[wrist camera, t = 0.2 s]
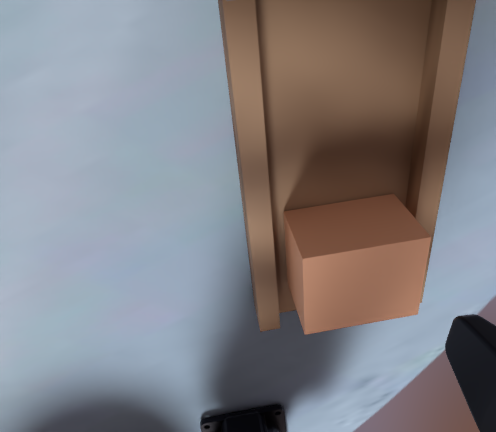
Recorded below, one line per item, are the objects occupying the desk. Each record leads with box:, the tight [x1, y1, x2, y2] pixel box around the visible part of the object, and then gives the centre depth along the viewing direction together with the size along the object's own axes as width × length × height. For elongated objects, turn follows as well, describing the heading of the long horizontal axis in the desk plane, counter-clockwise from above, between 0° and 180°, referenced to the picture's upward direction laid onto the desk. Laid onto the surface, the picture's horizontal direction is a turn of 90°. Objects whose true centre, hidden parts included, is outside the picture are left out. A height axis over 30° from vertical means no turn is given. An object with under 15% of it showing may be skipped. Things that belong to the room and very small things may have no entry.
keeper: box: [283, 194, 431, 335], centre depth 22 cm, size 5×6×4 cm
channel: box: [218, 0, 476, 332], centre depth 21 cm, size 20×10×4 cm, turn 5°
